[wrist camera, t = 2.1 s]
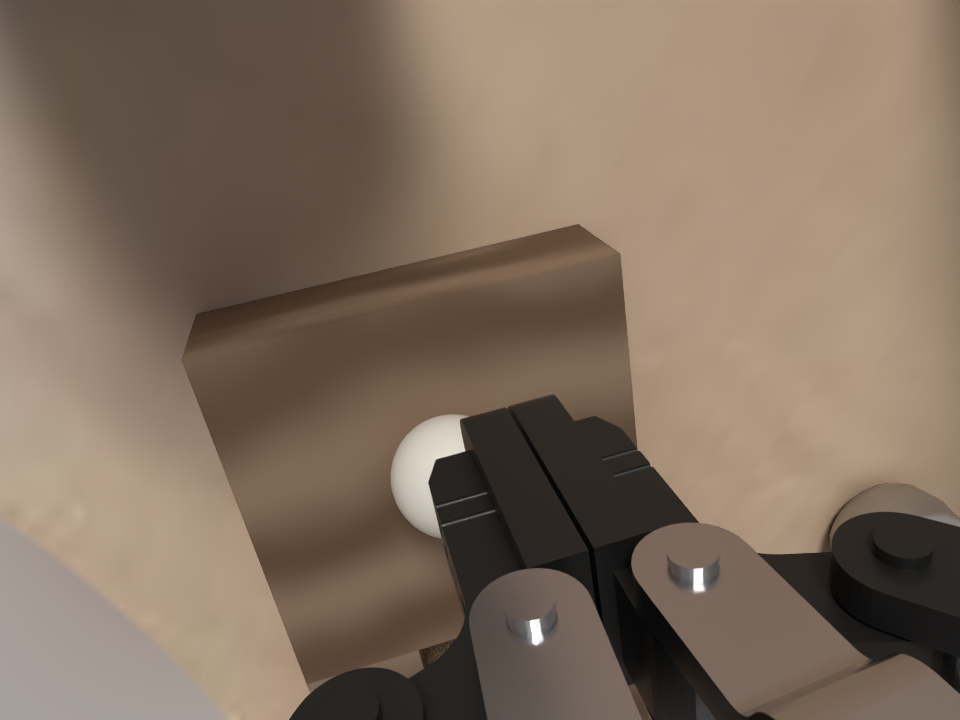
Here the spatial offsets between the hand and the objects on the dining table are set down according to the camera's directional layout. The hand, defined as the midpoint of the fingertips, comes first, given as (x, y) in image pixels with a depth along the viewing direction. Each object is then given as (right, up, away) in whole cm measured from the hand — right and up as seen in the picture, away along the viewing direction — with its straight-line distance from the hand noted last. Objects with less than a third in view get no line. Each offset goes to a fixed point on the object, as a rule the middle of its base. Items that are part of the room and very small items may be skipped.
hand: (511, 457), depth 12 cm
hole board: (-2, -6, +25) cm, 26 cm away
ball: (-2, -3, +16) cm, 16 cm away
